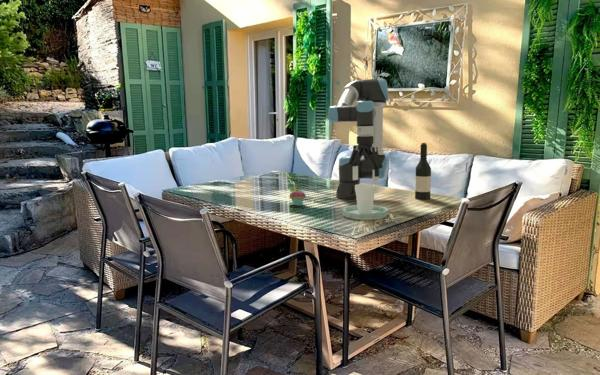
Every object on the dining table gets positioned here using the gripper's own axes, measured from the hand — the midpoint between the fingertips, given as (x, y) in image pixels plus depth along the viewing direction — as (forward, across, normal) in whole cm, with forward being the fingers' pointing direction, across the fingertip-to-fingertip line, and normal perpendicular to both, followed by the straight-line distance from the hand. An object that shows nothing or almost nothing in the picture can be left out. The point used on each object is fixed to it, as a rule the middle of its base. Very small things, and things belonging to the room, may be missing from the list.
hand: (365, 181), depth 207 cm
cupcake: (+16, -40, -11) cm, 44 cm away
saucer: (+16, 0, 0) cm, 16 cm away
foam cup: (+15, 0, 0) cm, 15 cm away
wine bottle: (+16, -9, +50) cm, 53 cm away
